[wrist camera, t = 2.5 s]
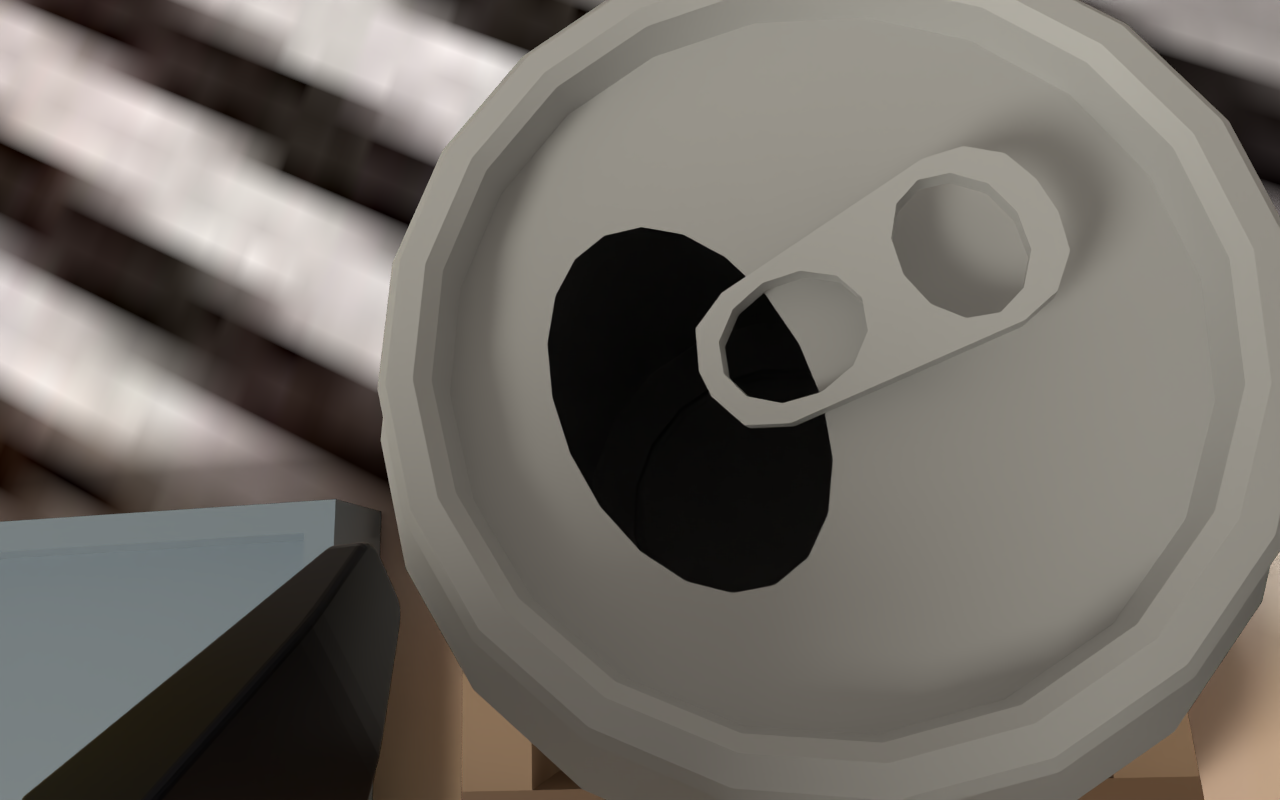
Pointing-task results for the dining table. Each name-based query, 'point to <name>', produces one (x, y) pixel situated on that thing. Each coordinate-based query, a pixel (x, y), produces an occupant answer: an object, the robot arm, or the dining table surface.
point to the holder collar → (545, 796)
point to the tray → (133, 609)
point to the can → (838, 398)
